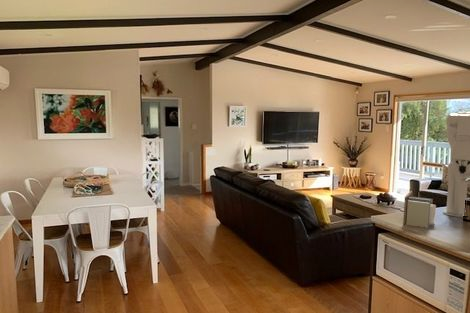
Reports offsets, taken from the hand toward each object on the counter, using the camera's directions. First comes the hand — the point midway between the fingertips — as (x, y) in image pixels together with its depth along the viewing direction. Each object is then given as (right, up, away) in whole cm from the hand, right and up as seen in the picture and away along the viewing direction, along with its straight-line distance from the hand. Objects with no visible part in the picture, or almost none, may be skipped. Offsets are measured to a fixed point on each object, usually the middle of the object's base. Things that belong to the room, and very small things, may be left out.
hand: (462, 173), depth 182 cm
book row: (-23, -28, +1) cm, 36 cm away
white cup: (-16, -28, +6) cm, 32 cm away
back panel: (-24, -27, +10) cm, 37 cm away
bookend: (-14, -26, +15) cm, 33 cm away
